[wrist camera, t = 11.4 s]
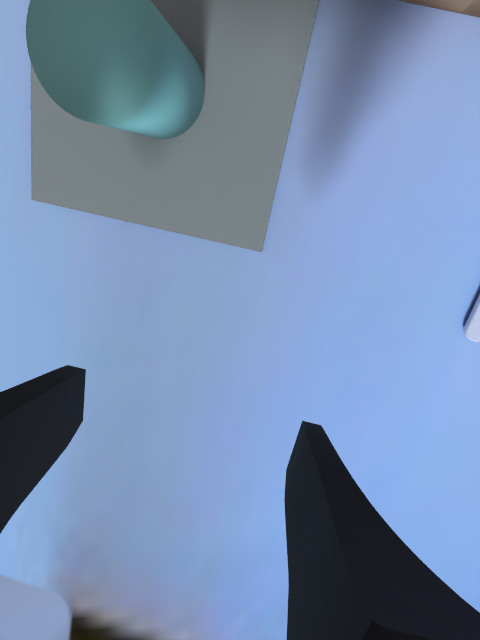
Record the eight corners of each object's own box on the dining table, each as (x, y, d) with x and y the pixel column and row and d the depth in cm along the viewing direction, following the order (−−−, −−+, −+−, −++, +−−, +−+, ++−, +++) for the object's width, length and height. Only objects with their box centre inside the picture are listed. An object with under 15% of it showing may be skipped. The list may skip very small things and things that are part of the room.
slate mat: (329, -47, 15) (330, -53, 15) (261, 250, 20) (261, 252, 19) (35, -109, 15) (29, -116, 15) (36, 199, 20) (31, 199, 19)
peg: (212, 47, 16) (170, -25, 10) (196, 148, 18) (150, 137, 12) (121, 25, 16) (26, -60, 10) (112, 127, 18) (25, 106, 12)
